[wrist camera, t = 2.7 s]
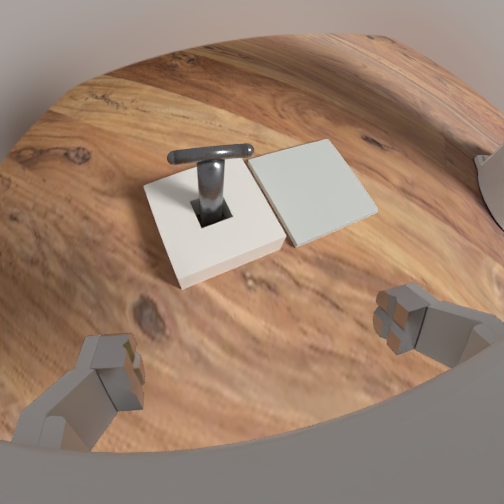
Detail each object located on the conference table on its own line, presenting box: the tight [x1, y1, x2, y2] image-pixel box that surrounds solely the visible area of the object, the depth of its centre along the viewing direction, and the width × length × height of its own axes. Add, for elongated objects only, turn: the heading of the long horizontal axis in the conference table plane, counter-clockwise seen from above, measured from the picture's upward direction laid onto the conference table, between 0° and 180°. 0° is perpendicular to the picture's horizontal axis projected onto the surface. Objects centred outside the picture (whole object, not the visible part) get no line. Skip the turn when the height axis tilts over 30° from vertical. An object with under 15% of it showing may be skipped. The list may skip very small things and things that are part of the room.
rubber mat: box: [247, 139, 379, 248], centre depth 32 cm, size 11×11×1 cm
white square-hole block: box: [144, 158, 286, 290], centre depth 28 cm, size 10×10×3 cm
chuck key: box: [167, 144, 254, 228], centre depth 24 cm, size 6×2×11 cm, turn 101°
